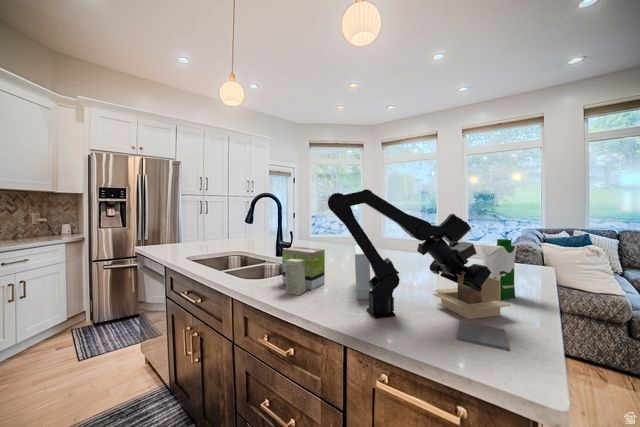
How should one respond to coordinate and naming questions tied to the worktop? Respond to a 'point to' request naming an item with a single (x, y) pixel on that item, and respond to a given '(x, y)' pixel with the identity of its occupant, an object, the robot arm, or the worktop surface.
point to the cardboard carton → (477, 310)
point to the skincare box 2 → (362, 274)
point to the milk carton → (501, 265)
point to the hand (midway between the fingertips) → (473, 287)
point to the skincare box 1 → (295, 276)
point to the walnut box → (468, 293)
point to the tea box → (307, 264)
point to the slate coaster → (482, 335)
